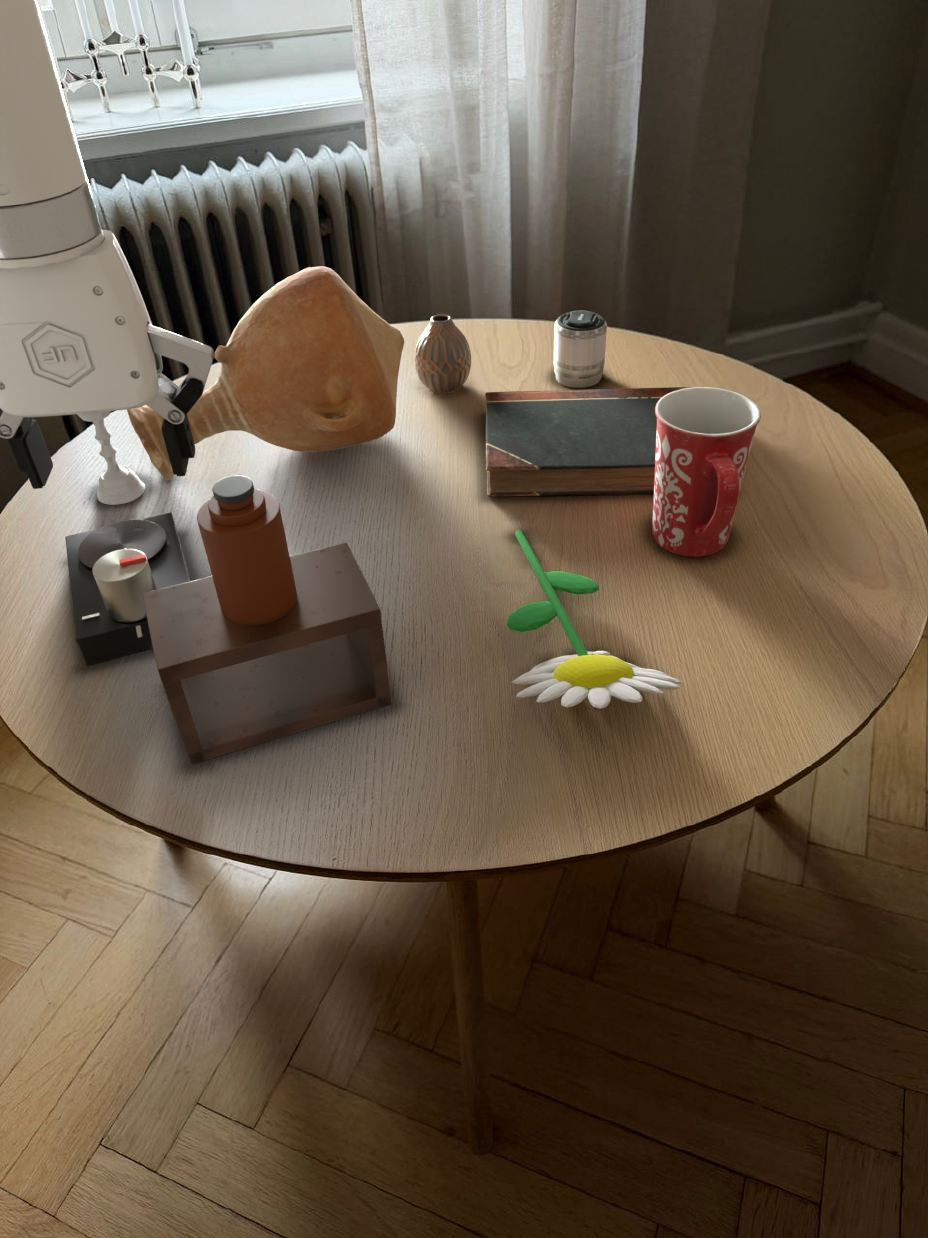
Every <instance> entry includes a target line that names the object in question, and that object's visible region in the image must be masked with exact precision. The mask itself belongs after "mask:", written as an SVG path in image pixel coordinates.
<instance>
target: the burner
mask: <svg viewBox="0 0 928 1238" xmlns="http://www.w3.org/2000/svg"><path fill="white" fill-rule="evenodd" d="M141 519H142V518H139V519H137V518H133V519H132V518H131V519H124V520H123V519H122V520H118V521H115V522H111V523H108V524H105V525H103V526H100V527H99V528H96V529H97V530H96V529H94V530H95V531H93V532H92V533H91V534H89V535H88V536H87V537H86V538H85V539H84V540H83V541H82V542H81V544H80V546H79V548H78V557H79V560H80V562H81V563H82V564H83V565H84V566H85V567H86V568H88V569H90V570H93V566H94V564H95V563H96V561H97V560H99V559H100V558H101V557H102V556H104V555H106V554H108V553H110V552H113V551H117V550H121V549H134V550H138V551H141V552H142V553H144V554H145V555H146V557H147V560H148V562H150V561H151V560H153V559H154V558H155V557H157V556H158V555H159V554H160V553H161V552H162V550H163V549H164V547H165V545H166V542H167V536H166V533H165V530H164V529H163V528H162V527H161V526H160V525H158V524H157V523H154V522H152V521H148V520H141Z"/></svg>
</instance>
